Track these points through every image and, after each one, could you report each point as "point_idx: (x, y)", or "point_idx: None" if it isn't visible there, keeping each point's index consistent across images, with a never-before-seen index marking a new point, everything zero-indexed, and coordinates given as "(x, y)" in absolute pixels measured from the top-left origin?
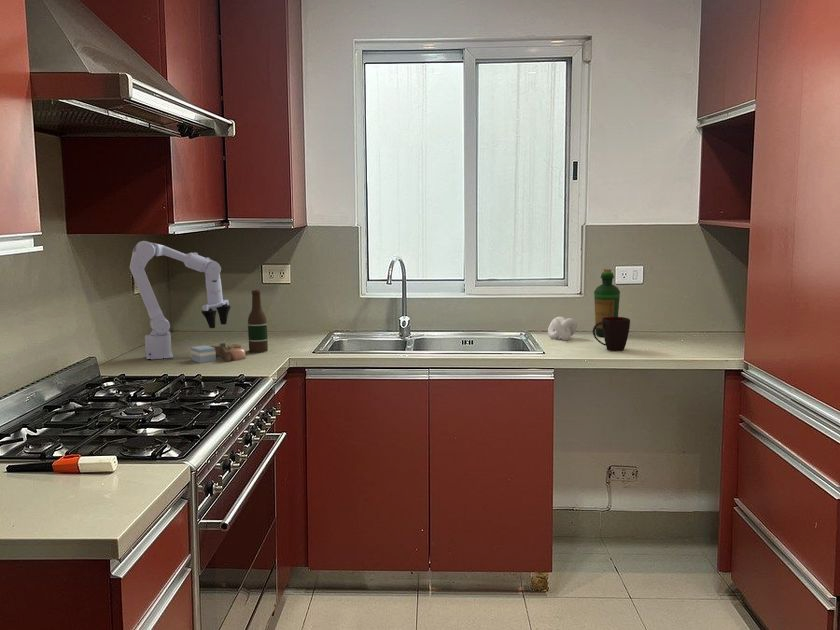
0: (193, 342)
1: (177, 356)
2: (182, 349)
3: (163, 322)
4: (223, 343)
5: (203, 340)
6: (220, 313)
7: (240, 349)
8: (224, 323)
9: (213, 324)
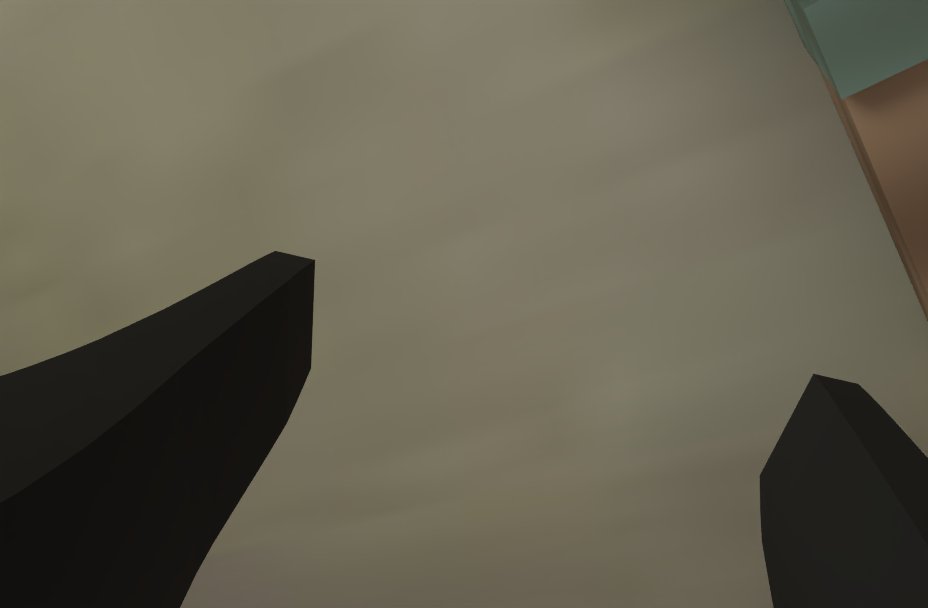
0: None
1: None
2: (460, 578)
3: None
4: (893, 2)
5: None
6: (156, 598)
7: None
8: (302, 298)
9: (912, 462)
